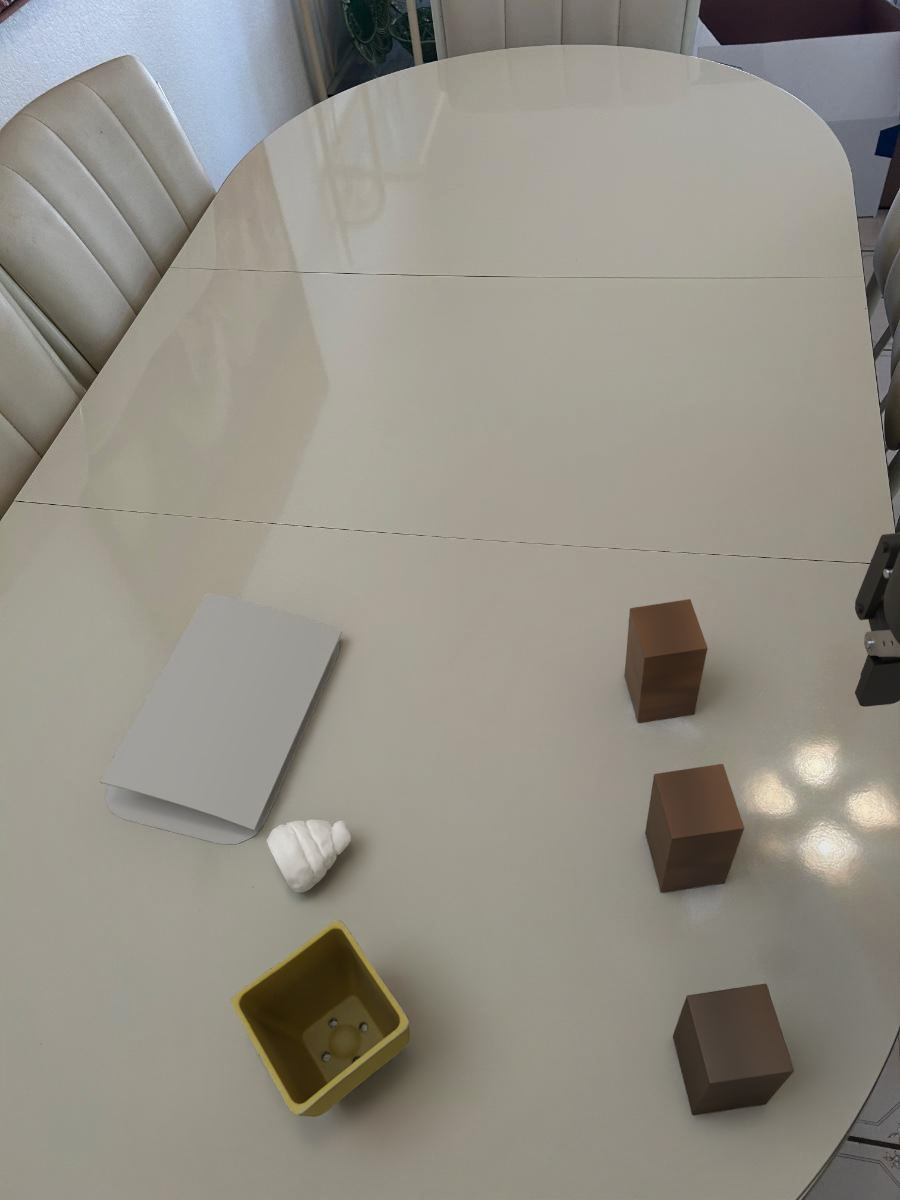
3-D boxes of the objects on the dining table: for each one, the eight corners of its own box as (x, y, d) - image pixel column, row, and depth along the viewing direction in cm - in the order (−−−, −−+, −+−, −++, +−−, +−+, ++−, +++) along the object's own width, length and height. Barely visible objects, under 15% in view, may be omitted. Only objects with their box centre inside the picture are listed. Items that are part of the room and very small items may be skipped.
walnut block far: (679, 667, 84) (690, 598, 76) (694, 714, 81) (708, 648, 73) (624, 675, 84) (629, 607, 76) (637, 723, 81) (644, 657, 73)
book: (93, 811, 81) (74, 791, 78) (208, 605, 94) (195, 580, 91) (253, 852, 77) (240, 832, 74) (349, 631, 90) (341, 606, 87)
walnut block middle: (707, 823, 74) (723, 763, 67) (725, 883, 71) (744, 828, 64) (644, 832, 75) (653, 773, 67) (660, 893, 71) (671, 838, 64)
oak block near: (743, 1025, 65) (766, 982, 57) (766, 1104, 62) (794, 1071, 54) (672, 1035, 65) (686, 995, 57) (692, 1115, 62) (709, 1084, 54)
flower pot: (324, 1143, 63) (293, 1119, 56) (262, 1033, 68) (226, 998, 61) (429, 1056, 66) (412, 1023, 59) (362, 957, 71) (339, 915, 64)
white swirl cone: (368, 868, 75) (356, 839, 71) (301, 907, 74) (284, 880, 69) (339, 814, 78) (326, 784, 74) (274, 851, 77) (257, 822, 72)
